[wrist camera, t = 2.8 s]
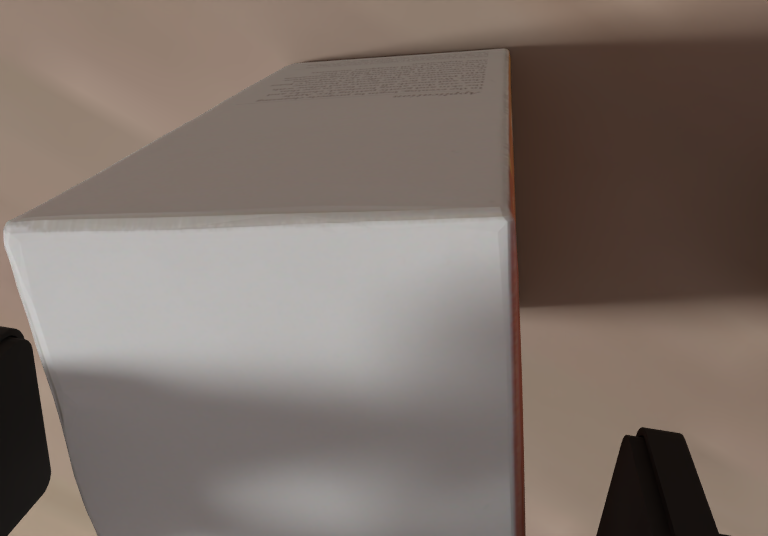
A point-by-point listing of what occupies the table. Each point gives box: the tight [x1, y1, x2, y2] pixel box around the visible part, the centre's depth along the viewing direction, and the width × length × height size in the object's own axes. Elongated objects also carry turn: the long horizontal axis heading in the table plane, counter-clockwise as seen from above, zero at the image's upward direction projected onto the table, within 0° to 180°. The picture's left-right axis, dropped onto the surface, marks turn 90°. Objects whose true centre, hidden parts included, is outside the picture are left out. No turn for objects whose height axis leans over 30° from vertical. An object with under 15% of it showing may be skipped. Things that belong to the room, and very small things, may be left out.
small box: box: [3, 48, 525, 536], centre depth 15 cm, size 8×6×13 cm
